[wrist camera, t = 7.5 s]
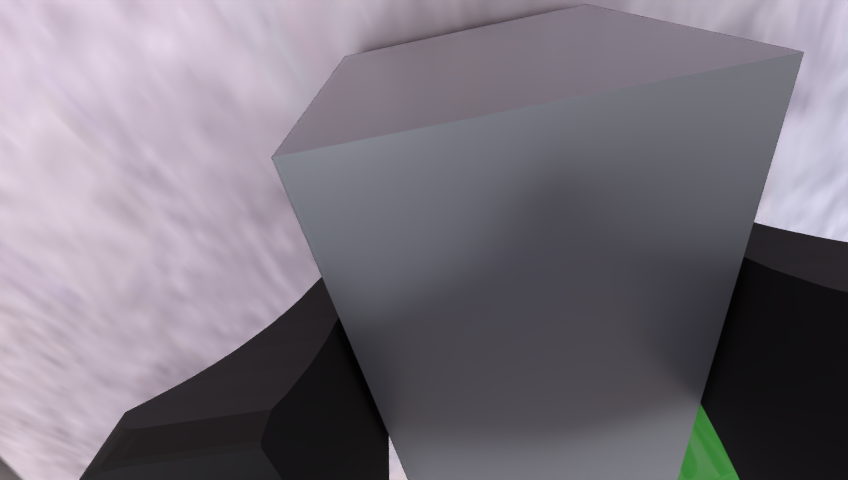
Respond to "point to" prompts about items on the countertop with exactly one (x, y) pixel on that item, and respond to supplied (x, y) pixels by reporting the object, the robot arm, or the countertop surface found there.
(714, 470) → the fruit basket
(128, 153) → the countertop surface
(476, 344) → the grey rectangular block
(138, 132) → the countertop surface
